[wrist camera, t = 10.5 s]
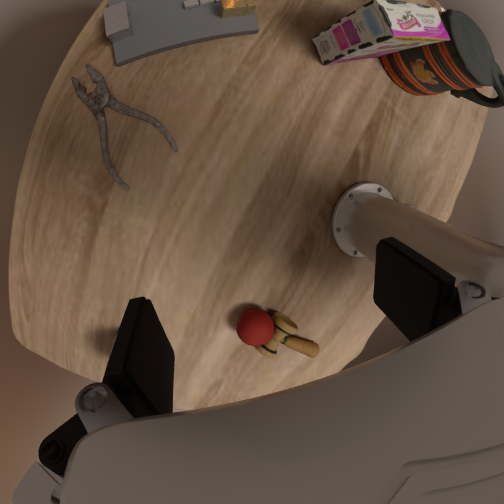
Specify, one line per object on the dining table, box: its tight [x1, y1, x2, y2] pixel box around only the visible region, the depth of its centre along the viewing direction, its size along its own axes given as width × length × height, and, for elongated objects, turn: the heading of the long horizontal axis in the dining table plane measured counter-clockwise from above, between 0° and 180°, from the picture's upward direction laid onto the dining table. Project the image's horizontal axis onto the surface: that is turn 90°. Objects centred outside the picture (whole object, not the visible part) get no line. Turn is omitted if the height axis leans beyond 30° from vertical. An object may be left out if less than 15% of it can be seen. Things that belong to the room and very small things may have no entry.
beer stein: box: [380, 9, 504, 108], centre depth 23 cm, size 19×15×20 cm
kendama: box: [237, 309, 319, 358], centre depth 45 cm, size 8×6×18 cm
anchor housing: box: [104, 1, 134, 43], centre depth 21 cm, size 3×5×3 cm, turn 12°
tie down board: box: [108, 0, 259, 66], centre depth 23 cm, size 19×12×2 cm, turn 102°
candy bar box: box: [312, 0, 450, 65], centre depth 22 cm, size 11×5×16 cm, turn 111°
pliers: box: [71, 64, 177, 190], centre depth 29 cm, size 10×1×20 cm
